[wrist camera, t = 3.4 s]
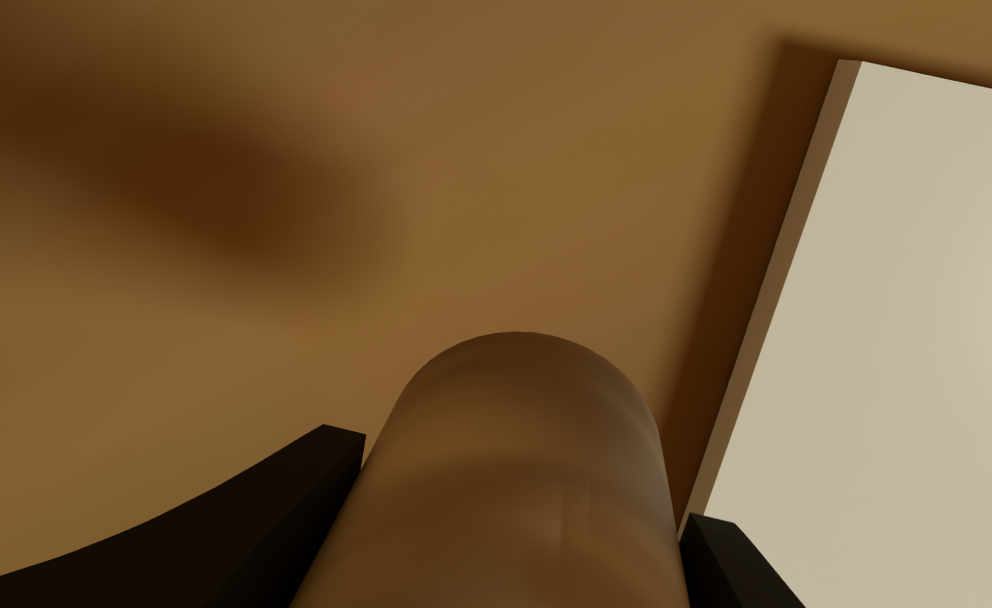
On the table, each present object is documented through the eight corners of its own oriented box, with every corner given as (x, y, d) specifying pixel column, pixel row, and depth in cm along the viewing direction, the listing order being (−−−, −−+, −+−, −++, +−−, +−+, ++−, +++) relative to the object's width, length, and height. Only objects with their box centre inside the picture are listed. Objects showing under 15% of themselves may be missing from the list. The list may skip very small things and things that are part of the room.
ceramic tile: (1419, 183, 16) (1501, 197, 14) (1006, 848, 23) (1034, 903, 21) (838, 59, 16) (862, 60, 15) (604, 748, 23) (605, 794, 22)
